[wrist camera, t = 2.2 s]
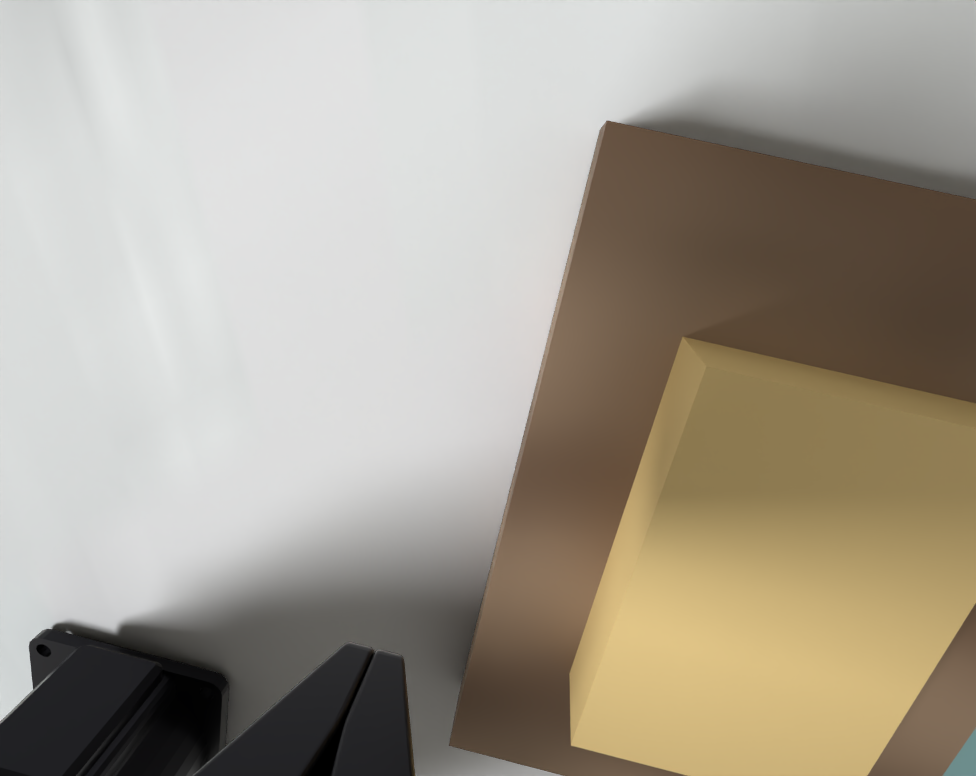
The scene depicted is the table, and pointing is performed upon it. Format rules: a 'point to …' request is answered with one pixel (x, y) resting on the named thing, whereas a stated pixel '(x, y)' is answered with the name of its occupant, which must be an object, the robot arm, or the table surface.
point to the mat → (964, 759)
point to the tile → (778, 571)
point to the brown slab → (644, 374)
